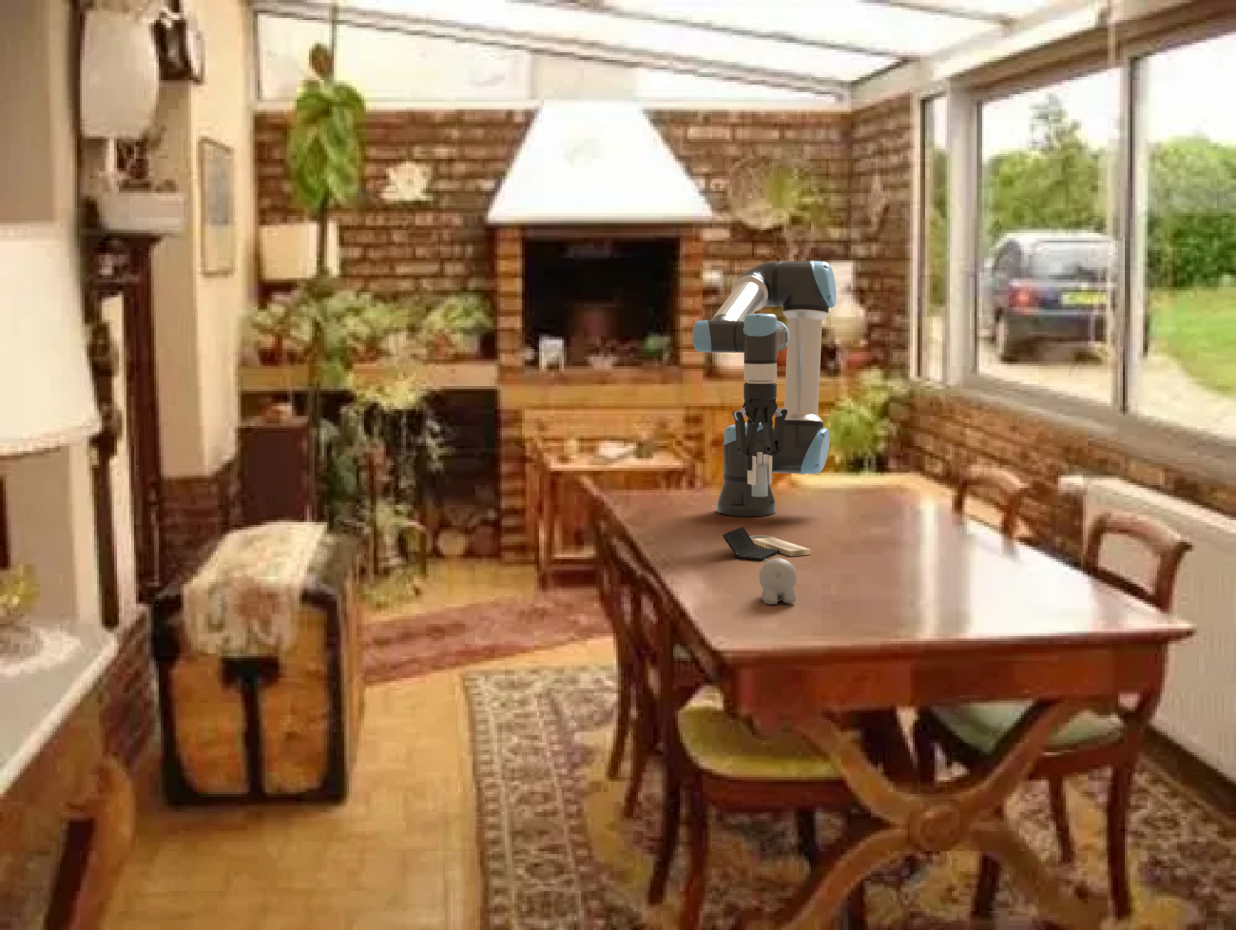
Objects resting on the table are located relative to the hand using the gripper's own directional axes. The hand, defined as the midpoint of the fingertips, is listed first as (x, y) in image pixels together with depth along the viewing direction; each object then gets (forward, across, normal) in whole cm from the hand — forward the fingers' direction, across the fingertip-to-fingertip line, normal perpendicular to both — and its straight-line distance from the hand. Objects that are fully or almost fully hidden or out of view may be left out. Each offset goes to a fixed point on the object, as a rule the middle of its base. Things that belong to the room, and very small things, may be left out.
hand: (759, 483), depth 354 cm
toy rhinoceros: (+14, +27, +53) cm, 61 cm away
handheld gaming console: (+14, +9, +13) cm, 21 cm away
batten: (+14, 0, +8) cm, 16 cm away
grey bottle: (+3, 0, 0) cm, 3 cm away
